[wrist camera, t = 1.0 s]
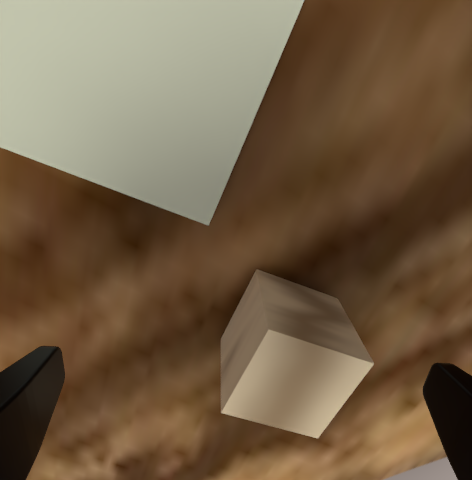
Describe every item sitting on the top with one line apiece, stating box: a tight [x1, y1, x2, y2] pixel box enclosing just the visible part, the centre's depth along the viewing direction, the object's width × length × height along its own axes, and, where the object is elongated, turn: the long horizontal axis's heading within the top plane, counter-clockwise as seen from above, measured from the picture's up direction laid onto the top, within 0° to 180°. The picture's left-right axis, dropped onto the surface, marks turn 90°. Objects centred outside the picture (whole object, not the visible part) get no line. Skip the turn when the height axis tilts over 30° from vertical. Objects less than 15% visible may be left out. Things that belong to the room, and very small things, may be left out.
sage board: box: [0, 0, 304, 226], centre depth 16 cm, size 12×12×1 cm
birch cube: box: [221, 269, 374, 438], centre depth 21 cm, size 6×6×6 cm
